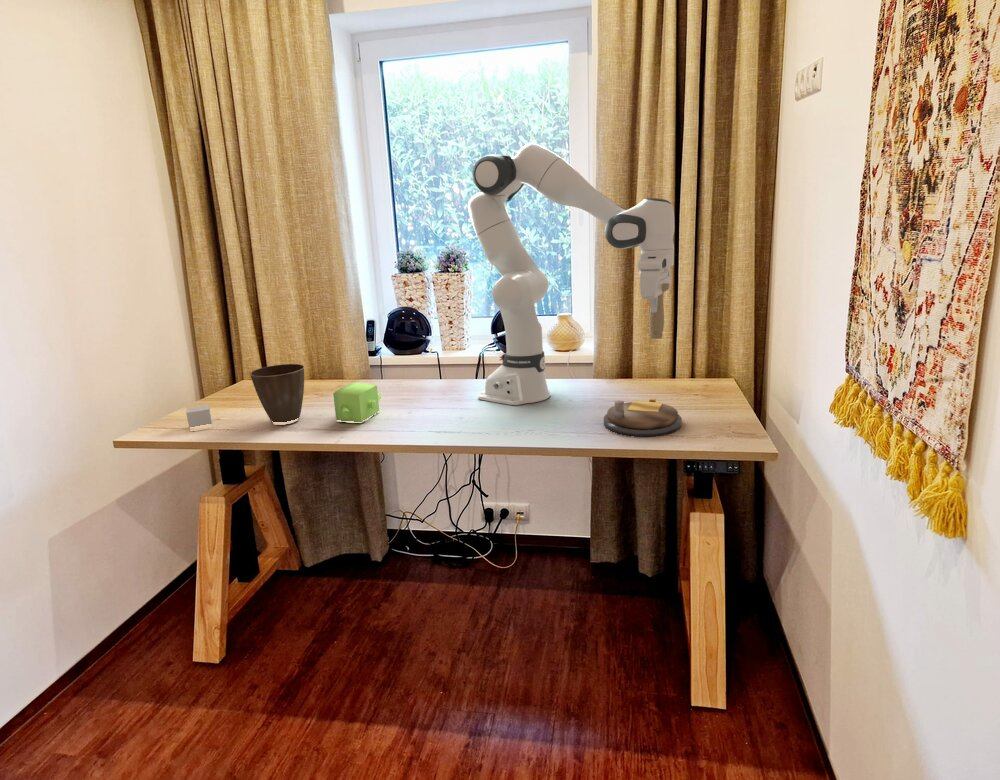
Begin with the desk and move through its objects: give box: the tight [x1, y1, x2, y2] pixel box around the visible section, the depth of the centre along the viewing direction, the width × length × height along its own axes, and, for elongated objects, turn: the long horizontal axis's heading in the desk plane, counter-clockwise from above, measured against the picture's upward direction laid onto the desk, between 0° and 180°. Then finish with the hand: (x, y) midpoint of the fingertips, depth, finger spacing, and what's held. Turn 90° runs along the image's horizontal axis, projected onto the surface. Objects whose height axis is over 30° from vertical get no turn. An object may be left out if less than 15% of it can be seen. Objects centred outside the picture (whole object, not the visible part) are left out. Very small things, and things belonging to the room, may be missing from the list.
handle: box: [648, 283, 670, 340], centre depth 172 cm, size 5×6×15 cm
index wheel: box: [606, 400, 679, 429], centre depth 162 cm, size 18×18×6 cm
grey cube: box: [185, 404, 213, 429], centre depth 184 cm, size 6×6×6 cm
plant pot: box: [249, 363, 305, 422], centre depth 182 cm, size 15×15×16 cm
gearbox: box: [333, 382, 382, 422], centre depth 182 cm, size 18×10×10 cm, turn 161°
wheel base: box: [603, 398, 683, 438], centre depth 164 cm, size 20×21×4 cm
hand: (656, 310), depth 172 cm, fingers closed on handle, 3 cm apart
